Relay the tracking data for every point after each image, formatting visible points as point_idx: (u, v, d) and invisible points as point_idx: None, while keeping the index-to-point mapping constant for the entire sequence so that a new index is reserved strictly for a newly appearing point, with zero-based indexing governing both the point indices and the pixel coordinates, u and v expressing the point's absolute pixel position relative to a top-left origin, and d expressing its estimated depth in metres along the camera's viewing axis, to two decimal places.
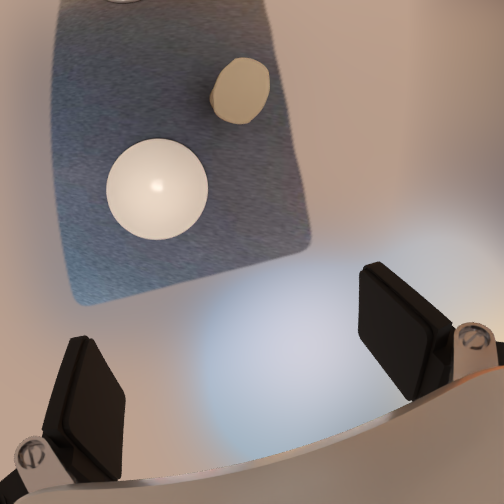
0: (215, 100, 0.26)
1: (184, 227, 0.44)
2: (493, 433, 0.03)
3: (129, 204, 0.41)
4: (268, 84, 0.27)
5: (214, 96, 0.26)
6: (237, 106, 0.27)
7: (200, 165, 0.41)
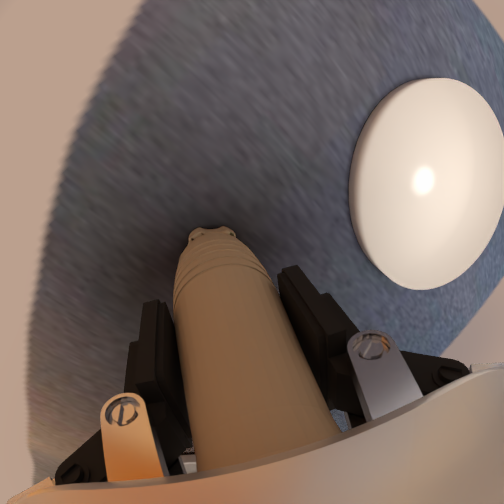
0: None
1: (466, 92, 0.15)
2: (493, 433, 0.03)
3: (483, 208, 0.18)
4: None
5: None
6: None
7: (370, 159, 0.15)
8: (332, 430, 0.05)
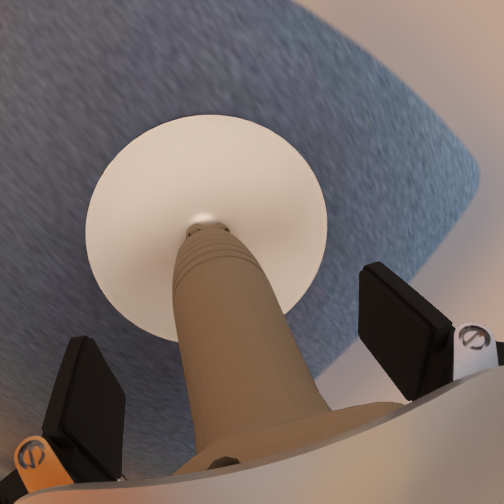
0: None
1: (219, 125, 0.15)
2: (493, 433, 0.03)
3: (278, 258, 0.19)
4: None
5: None
6: None
7: (88, 229, 0.16)
8: (317, 400, 0.06)
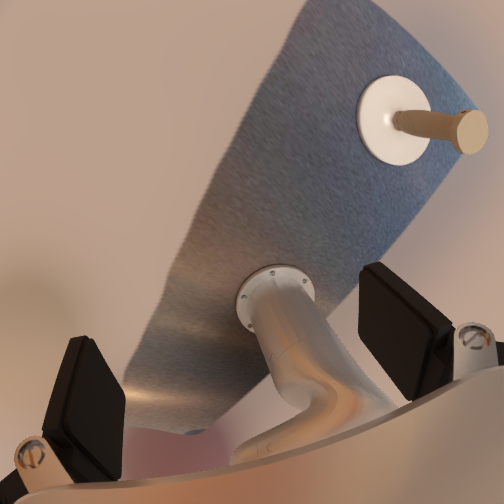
0: (484, 141, 0.29)
1: (404, 80, 0.39)
2: (493, 433, 0.03)
3: None
4: (462, 119, 0.27)
5: (483, 143, 0.29)
6: (480, 125, 0.28)
7: (364, 105, 0.40)
8: None
